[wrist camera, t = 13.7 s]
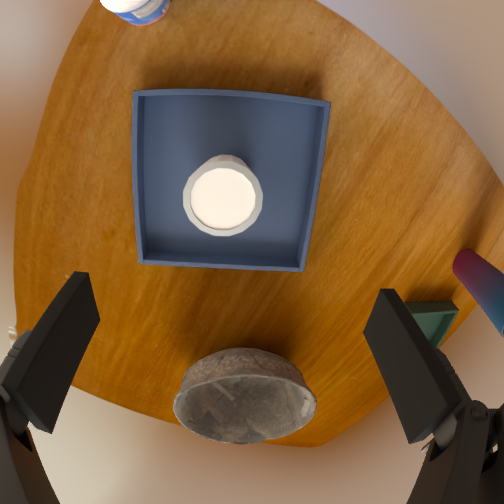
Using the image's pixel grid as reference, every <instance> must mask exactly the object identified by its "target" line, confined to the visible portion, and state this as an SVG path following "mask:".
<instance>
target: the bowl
mask: <svg viewBox="0 0 504 504" xmlns="http://www.w3.org/2000/svg"><path fill="white" fill-rule="evenodd" d="M316 404H317V400H316V398H315V395H314V394H313V393H312V391H311V390H310V389H309V387H308V386H307V385H306V383H305V381H304V379H303V376H302V374H301V372H300V371H299V369H298V368H297V367H296V366H295V365H294V364H293V363H291V362H290V361H288V360H287V359H285V358H282V357H281V356H279V355H277V354H275V353H270V352H267V351H263V350H261V349H256V348H246V347H240V348H228V349H225V350H221V351H218V352H215V353H213V354H211V355H208V356H206V357H204V358H202V359H200V360H199V361H198V362H196V363H194V364H193V365H192V366H191V367H190V368H189V369H187V371H186V373H185V374H184V376H183V379H182V384H181V388H180V390H179V392H178V394H177V395H176V397H175V398H174V402H173V410H174V413H175V416H176V417H177V419H178V420H179V421H180V423H181V424H182V425H183V426H184V427H186V428H187V429H189V430H190V431H192V432H194V433H195V434H197V435H199V436H202V437H204V438H206V439H211V440H213V441H217V442H223V443H233V444H246V443H255V442H261V441H265V440H267V439H277V438H280V437H283V436H287V435H289V434H291V433H293V432H295V431H297V430H298V429H300V428H302V427H303V426H305V425H306V424H307V423H308V422H309V421H310V420H311V419H312V417H313V416H314V414H315V411H316V407H317V405H316Z"/></svg>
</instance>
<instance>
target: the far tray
mask: <svg viewBox="0 0 504 504" xmlns="http://www.w3.org/2000/svg"><path fill="white" fill-rule="evenodd" d="M404 304H405V306H406V307H407V309H408V310H409V312H410V313H411V315H412V316H413V318H414V319H415V321H416V322H417V324H418V325H419V327H420V328H421V330H422V331H423V333H424V335H425V336H426V338H427V339H428V341H429V343H430V344H431V346H432V347H433V348H438V347H439V345H440V344H441V342H442V340H443V339H444V337H445V335H446V333H447V332H448V330H449V328H450V326H451V324H452V323H453V321H454V319H455V317H456V315H457V313H458V311H459V309H458V308H457V307H456V306H455V304H454V303H453V302H452V301H436V302H413V303H404Z"/></svg>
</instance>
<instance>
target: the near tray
mask: <svg viewBox="0 0 504 504" xmlns="http://www.w3.org/2000/svg"><path fill="white" fill-rule="evenodd" d="M330 108H331V102H329V101H323V100H317V99H311V98H305V97H298V96H291V95H283V94H275V93H266V92H255V91H243V90H226V89H151V90H135V91H133V107H132V181H133V202H134V217H135V230H136V241H137V251H138V260H139V264H152V265H168V266H186V267H204V268H223V269H244V270H266V271H290V272H304V267H305V262H306V257H307V252H308V247H309V242H310V237H311V231H312V226H313V220H314V215H315V209H316V203H317V197H318V191H319V185H320V179H321V173H322V166H323V159H324V153H325V146H326V139H327V131H328V124H329V116H330ZM221 154H225V155H233V156H236V157H238V158H240V159H242V160H243V162H244V163H245V164H246V165H247V166H248V167H249V168H250V170H251V171H252V172H253V174H254V175H255V176H256V178H257V179H258V181H259V184H260V187H261V190H262V193H263V201H262V210H261V211H260V213H259V215H258V217H257V219H256V221H255V222H254V223H253V224H252V225H251V226H249V227H248V228H247V229H246V230H245V231H243V232H240V233H237V234H234V235H231V236H214V235H211V234H209V233H206V232H204V231H201V230H200V229H199V228H198V227H196V226H195V225H194V224H193V223H192V222H191V221H190V220H189V218H188V216H187V213H186V211H185V209H184V207H183V190H184V188H185V186H186V183H187V181H188V179H189V177H190V176H191V175H192V174H193V173H194V172H195V171H196V170H197V169H198V168H199V167H200V166H202V165H203V164H204V163H205V162H207V161H208V160H209V159H211V158H213V157H215V156H218V155H221Z"/></svg>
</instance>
